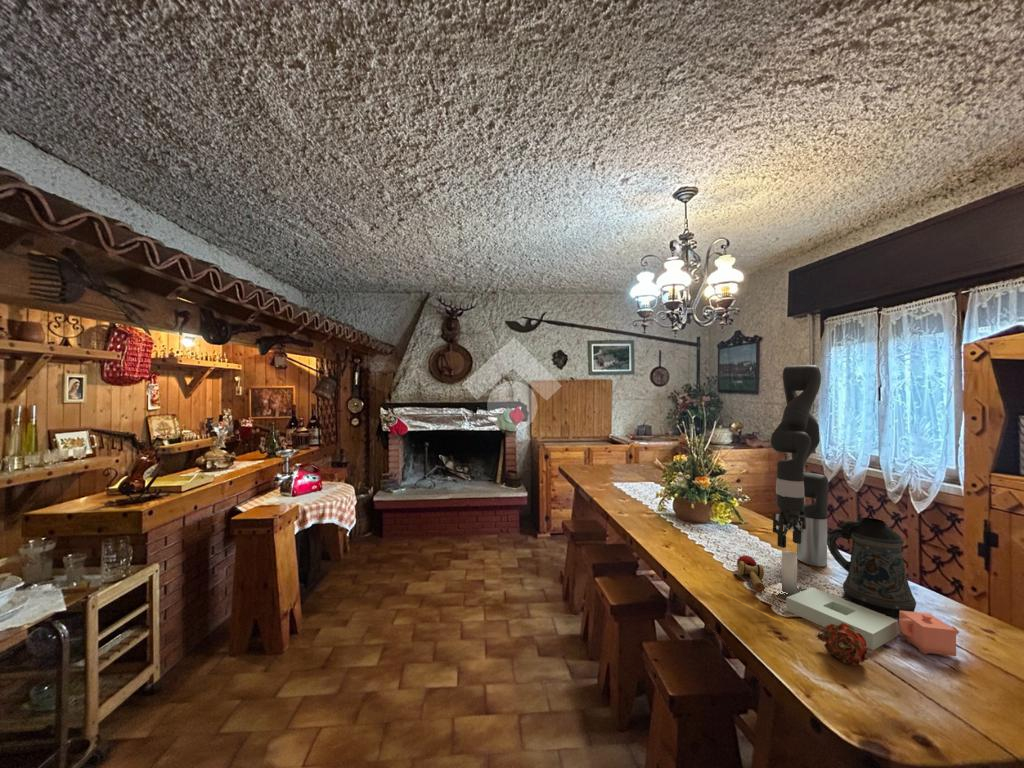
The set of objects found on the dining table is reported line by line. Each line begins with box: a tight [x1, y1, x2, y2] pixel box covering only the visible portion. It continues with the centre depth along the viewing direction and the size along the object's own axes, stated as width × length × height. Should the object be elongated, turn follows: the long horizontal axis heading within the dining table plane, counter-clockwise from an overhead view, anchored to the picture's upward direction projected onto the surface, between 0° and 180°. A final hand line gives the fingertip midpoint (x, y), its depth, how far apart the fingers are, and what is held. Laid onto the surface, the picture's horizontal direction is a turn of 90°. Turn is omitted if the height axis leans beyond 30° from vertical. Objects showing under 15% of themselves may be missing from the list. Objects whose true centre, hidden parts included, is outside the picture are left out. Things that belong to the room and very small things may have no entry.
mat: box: [775, 585, 808, 601], centre depth 129 cm, size 14×10×1 cm
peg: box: [781, 550, 798, 594], centre depth 129 cm, size 4×4×12 cm
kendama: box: [736, 554, 766, 593], centre depth 137 cm, size 8×6×18 cm
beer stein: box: [827, 517, 917, 619], centre depth 124 cm, size 16×19×25 cm
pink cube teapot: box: [898, 610, 960, 658], centre depth 102 cm, size 8×12×8 cm, turn 78°
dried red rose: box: [817, 623, 869, 666], centre depth 97 cm, size 8×8×12 cm
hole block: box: [785, 587, 899, 651], centre depth 112 cm, size 14×20×4 cm
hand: (789, 545), depth 129 cm, fingers open, 8 cm apart
